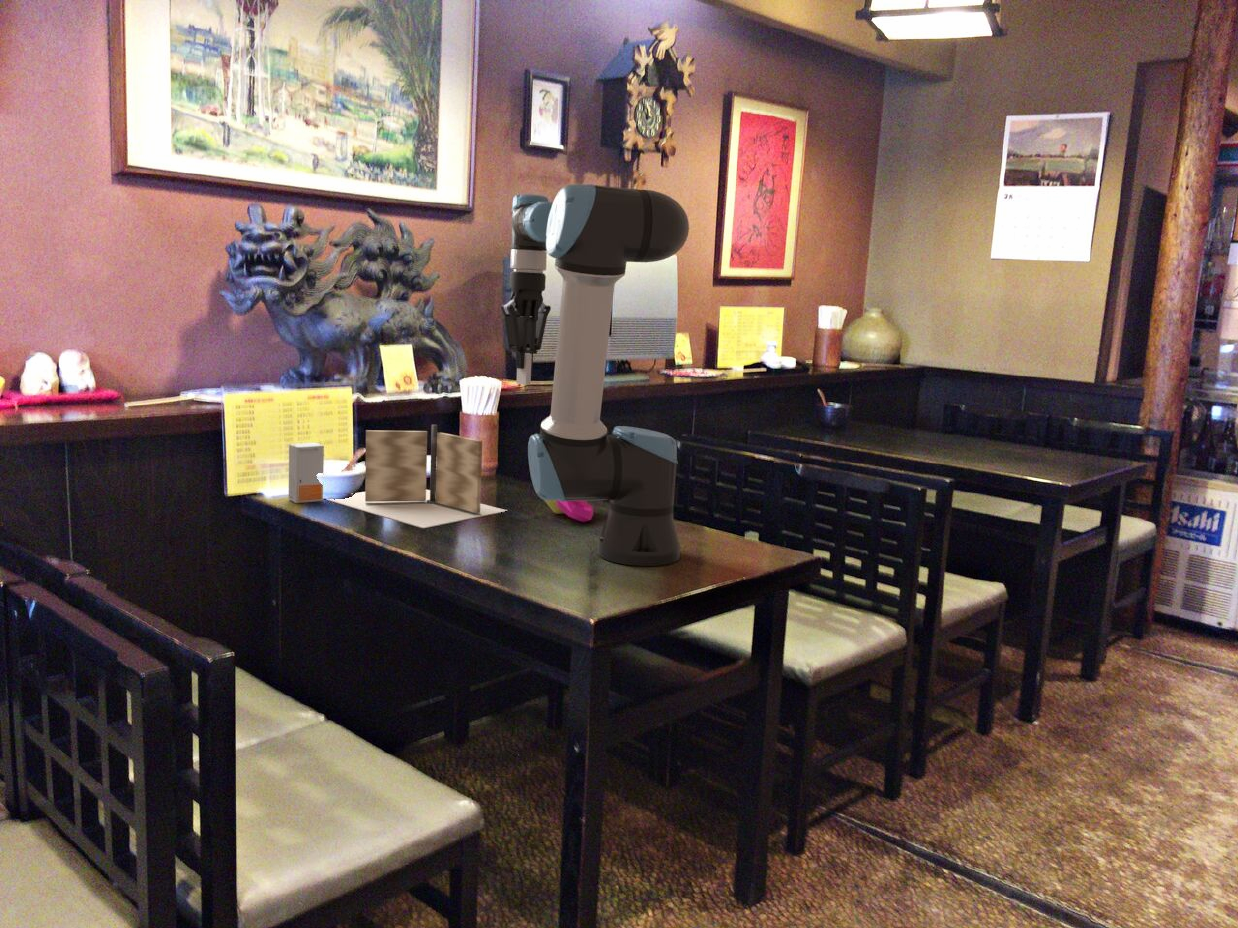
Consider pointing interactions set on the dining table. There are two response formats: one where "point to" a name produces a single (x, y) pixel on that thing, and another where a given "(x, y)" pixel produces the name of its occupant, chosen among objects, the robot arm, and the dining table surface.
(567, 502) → the toy
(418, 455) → the fence gate
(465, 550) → the dining table surface
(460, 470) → the panel
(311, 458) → the skincare box
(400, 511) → the card
